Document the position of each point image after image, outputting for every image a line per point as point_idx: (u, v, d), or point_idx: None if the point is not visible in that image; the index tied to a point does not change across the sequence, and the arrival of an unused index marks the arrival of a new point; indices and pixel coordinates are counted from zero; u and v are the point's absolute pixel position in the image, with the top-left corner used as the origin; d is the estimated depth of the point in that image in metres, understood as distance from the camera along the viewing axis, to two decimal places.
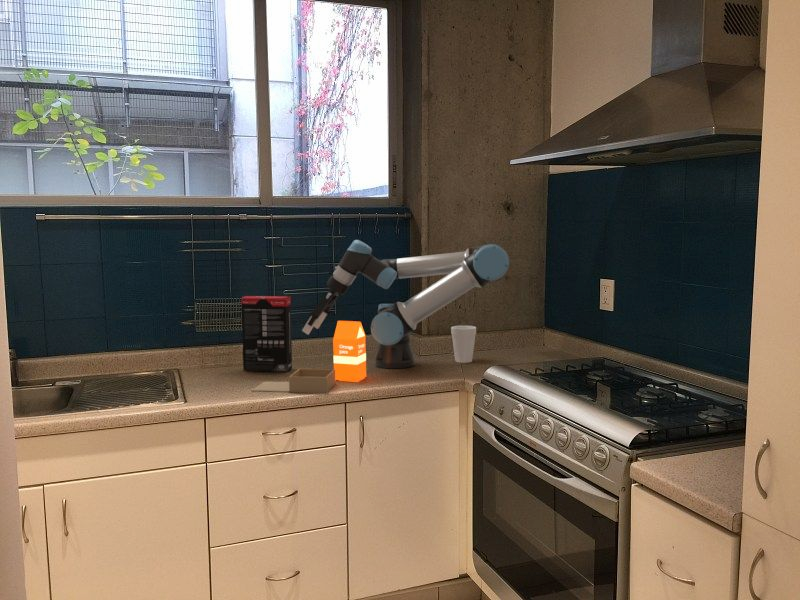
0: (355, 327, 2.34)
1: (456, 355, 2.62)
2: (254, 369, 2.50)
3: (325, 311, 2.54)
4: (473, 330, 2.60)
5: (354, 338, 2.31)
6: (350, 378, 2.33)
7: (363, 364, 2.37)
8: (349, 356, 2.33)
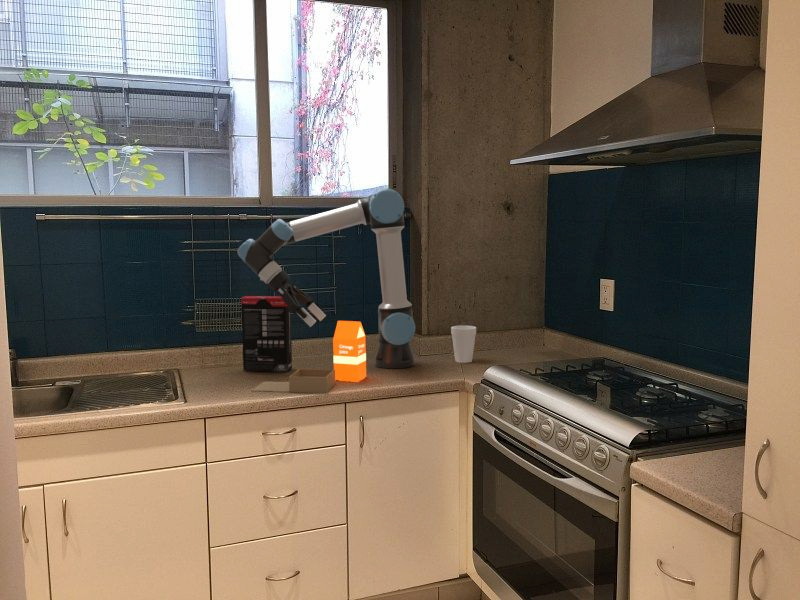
0: (355, 327, 2.34)
1: (456, 355, 2.62)
2: (254, 369, 2.50)
3: (310, 303, 2.44)
4: (473, 330, 2.60)
5: (354, 338, 2.31)
6: (350, 378, 2.33)
7: (363, 364, 2.37)
8: (349, 356, 2.33)
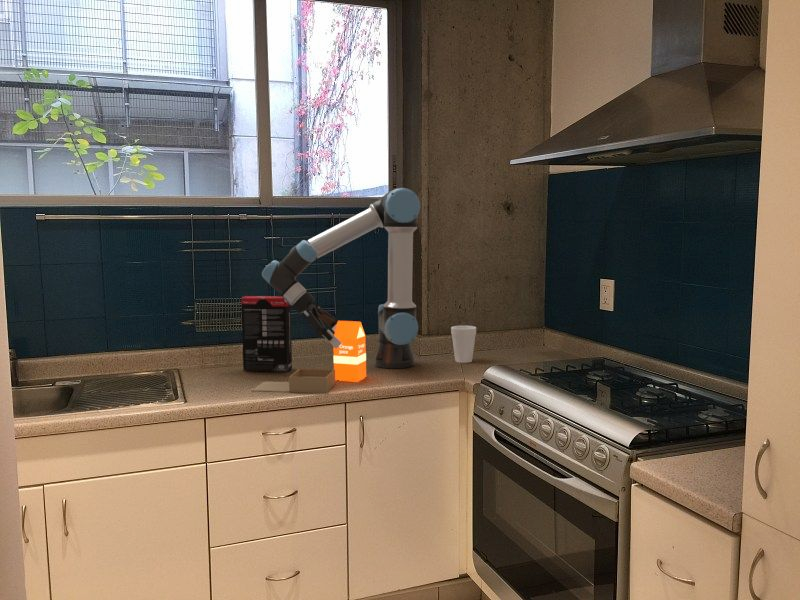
0: (355, 327, 2.34)
1: (456, 355, 2.62)
2: (254, 369, 2.50)
3: (334, 324, 2.43)
4: (473, 330, 2.60)
5: (354, 338, 2.32)
6: (350, 378, 2.33)
7: (363, 364, 2.37)
8: (349, 356, 2.33)
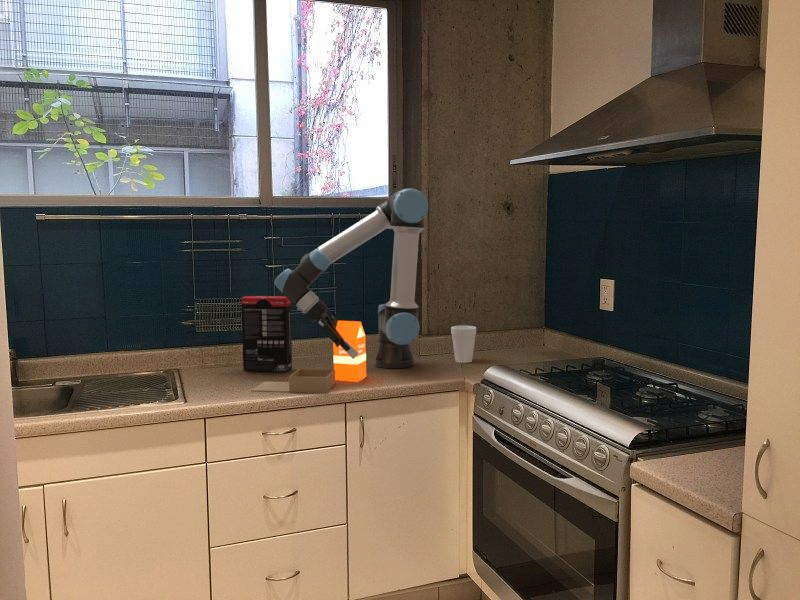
0: (355, 327, 2.34)
1: (456, 355, 2.62)
2: (254, 369, 2.50)
3: None
4: (473, 330, 2.60)
5: (354, 338, 2.31)
6: (350, 378, 2.33)
7: (363, 364, 2.37)
8: (349, 356, 2.33)
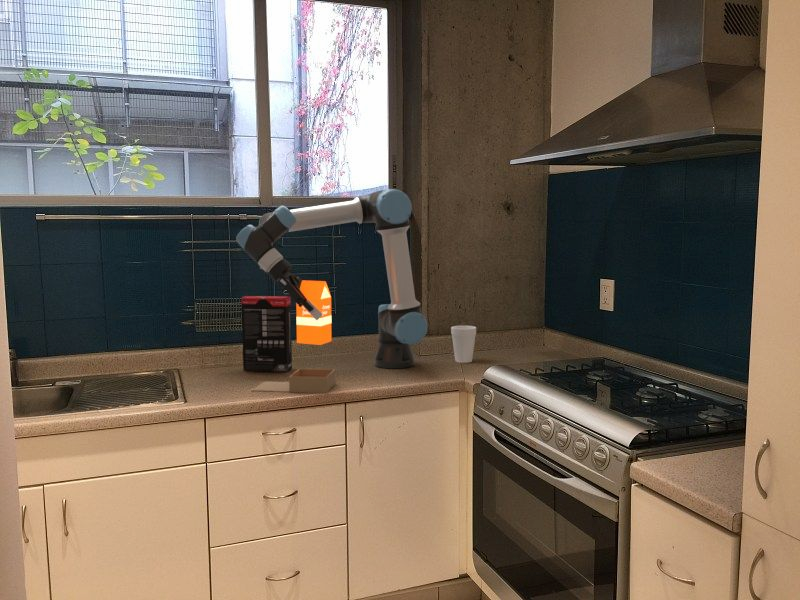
0: (320, 286, 2.21)
1: (456, 355, 2.62)
2: (254, 369, 2.50)
3: None
4: (473, 330, 2.60)
5: (318, 298, 2.19)
6: (314, 341, 2.21)
7: (328, 327, 2.25)
8: (312, 317, 2.20)
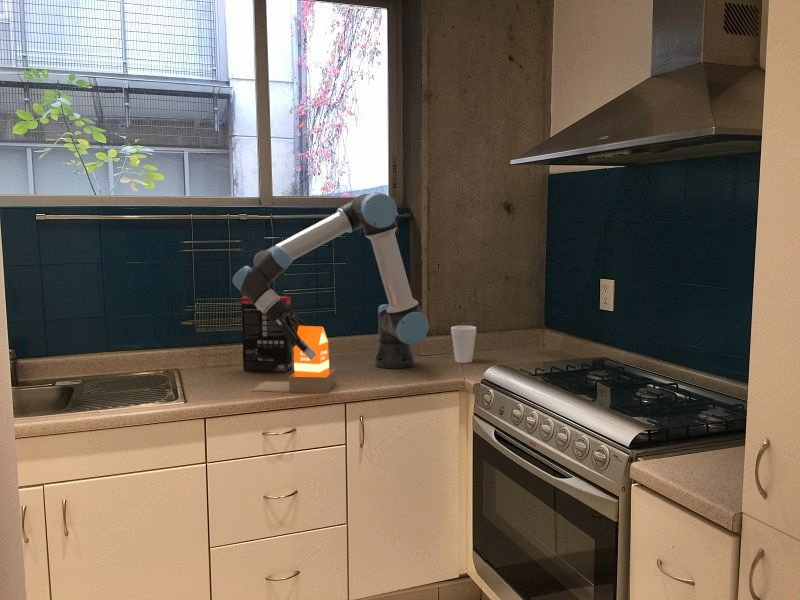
0: (317, 332, 2.21)
1: (456, 355, 2.62)
2: (254, 369, 2.50)
3: None
4: (473, 330, 2.60)
5: (316, 344, 2.19)
6: None
7: (326, 371, 2.24)
8: (311, 363, 2.20)
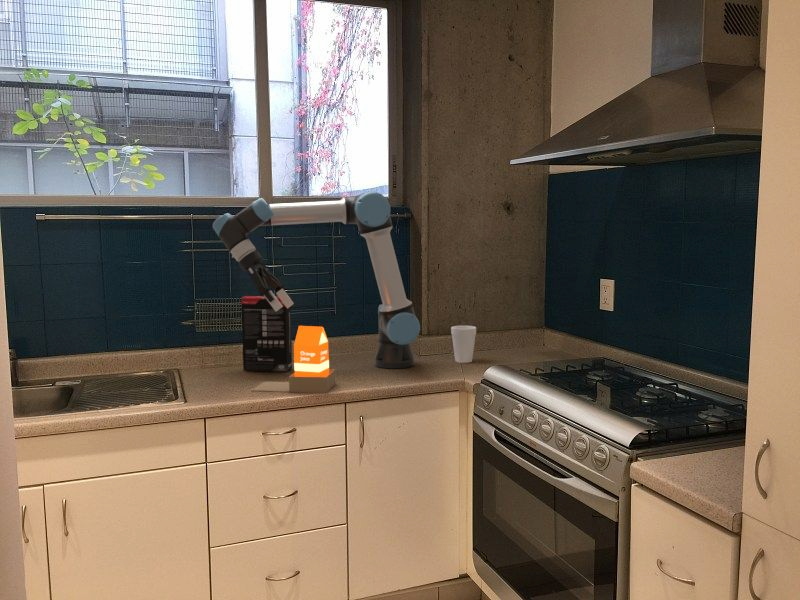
0: (317, 332, 2.21)
1: (456, 355, 2.62)
2: (254, 369, 2.50)
3: (279, 289, 2.37)
4: (473, 330, 2.60)
5: (316, 344, 2.19)
6: None
7: (326, 371, 2.24)
8: (311, 363, 2.20)
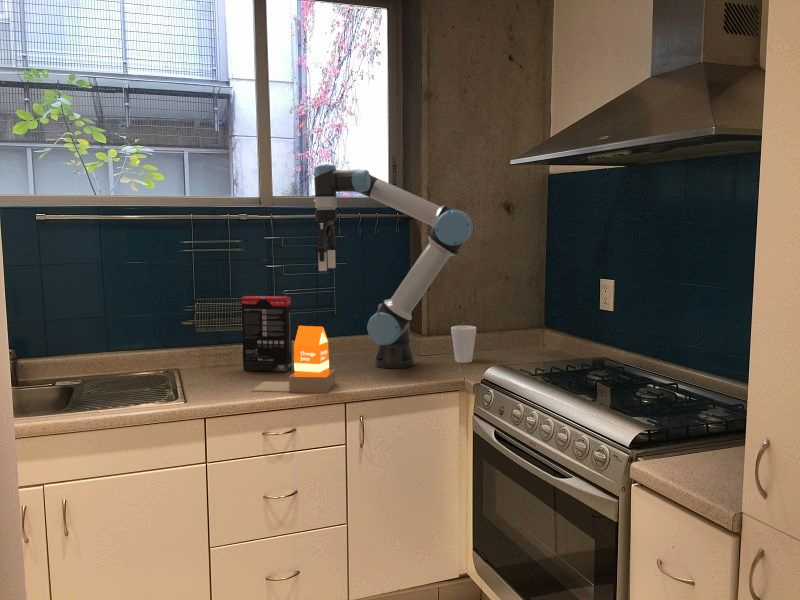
0: (317, 332, 2.21)
1: (456, 355, 2.62)
2: (254, 369, 2.50)
3: (332, 248, 2.53)
4: (473, 330, 2.60)
5: (316, 344, 2.19)
6: None
7: (326, 371, 2.24)
8: (311, 363, 2.20)
